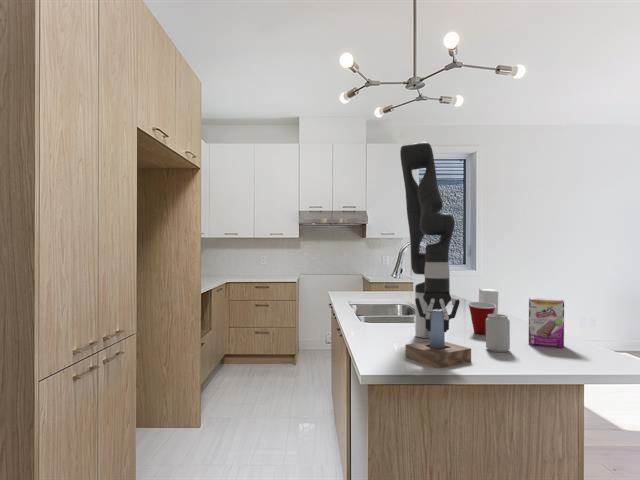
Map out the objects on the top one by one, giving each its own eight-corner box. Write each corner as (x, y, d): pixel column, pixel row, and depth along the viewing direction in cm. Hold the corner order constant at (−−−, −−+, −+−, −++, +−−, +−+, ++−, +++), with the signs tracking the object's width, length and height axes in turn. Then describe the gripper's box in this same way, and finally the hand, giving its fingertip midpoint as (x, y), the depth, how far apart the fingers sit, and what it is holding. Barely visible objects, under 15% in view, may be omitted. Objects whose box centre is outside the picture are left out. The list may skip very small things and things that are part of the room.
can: (508, 348, 146) (508, 313, 146) (510, 353, 139) (510, 317, 139) (485, 346, 149) (485, 312, 149) (486, 352, 141) (486, 316, 142)
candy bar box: (528, 345, 151) (528, 299, 151) (528, 342, 155) (528, 297, 156) (564, 348, 146) (564, 300, 146) (563, 345, 151) (563, 299, 151)
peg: (437, 347, 135) (437, 309, 136) (447, 350, 132) (447, 311, 132) (426, 349, 133) (426, 310, 133) (437, 352, 129) (437, 312, 130)
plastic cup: (475, 336, 165) (475, 305, 165) (463, 330, 176) (463, 301, 176) (501, 335, 166) (501, 305, 166) (488, 330, 177) (488, 301, 177)
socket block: (437, 351, 142) (437, 339, 142) (471, 361, 130) (471, 348, 130) (405, 357, 135) (405, 344, 135) (438, 368, 123) (438, 354, 123)
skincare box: (478, 322, 195) (478, 288, 196) (493, 322, 195) (492, 288, 195) (483, 325, 187) (483, 290, 187) (498, 325, 186) (498, 290, 187)
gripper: (460, 276, 135) (460, 330, 134) (414, 275, 138) (414, 327, 138) (461, 277, 127) (461, 335, 127) (413, 276, 131) (413, 332, 131)
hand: (437, 330), depth 133 cm, fingers closed on peg, 4 cm apart
